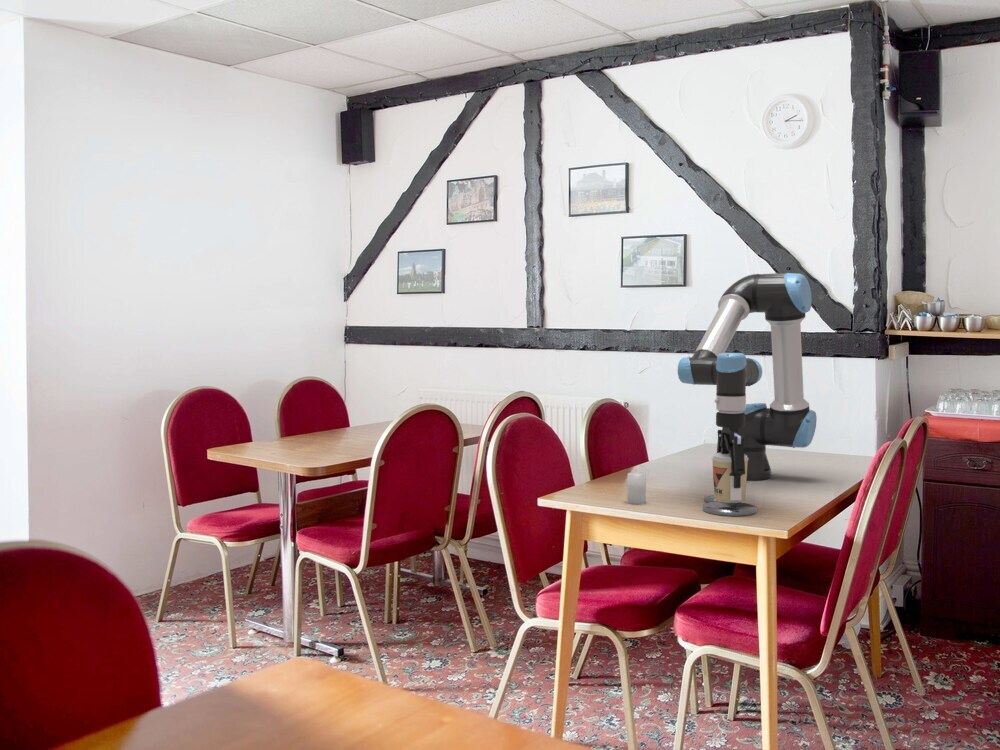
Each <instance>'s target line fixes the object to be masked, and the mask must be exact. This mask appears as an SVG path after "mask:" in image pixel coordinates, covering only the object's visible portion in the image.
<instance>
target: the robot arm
mask: <svg viewBox="0 0 1000 750" xmlns="http://www.w3.org/2000/svg"><path fill="white" fill-rule="evenodd" d="M812 300H813V298H812V290H811V287H810V282H809V281H808V279H807V277H806V276H805V275H804V274H801V273H795V272H794V273H791V272H782V273H779V272H778V273H777V272H775V273H754V274H749V275H747V276H743V277H742V278H740V279H738V280H736V281H735V282H733V284H731V285H730V286H729V287H728V288H727V289H726V290H725V291H724V292H723V293H722V295H721V296H720V298H719V300H718V303H717V311H716V312H715V314H714V317H713V318H712V320H711V322H710V324H709V326H708V327H707V330H706V331H705V333H704V335H703V337H702V338H701V341H700V342H699V344H698V346H697V348H696V349H695V351H694V353H693V355H692V357H690V356H687V357H686V356H685V357H682V358H681V359H679V361H678V364H677V376H678V380H679V381H680V382H681V383H682V384H688V385H689V384H690V385H693V386H696V385H698V386H699V385H705V386H715V387H716V391H715V392H716V394H715V395H716V399H714V403H715V404H716V411H717V412H716V413H715V425H716V427H719V428H721V429H717V443H716V446H717V447H716V453H721V454H729V456H730V458H731V460H732V462H731V470H732V473H730V474H729V475H730V500H741V482H742V475H743V474H745V461H744V454H745V455H747V458H748V463H747V478H746V481H761V480H768V479H771V478H772V469H771V465H770V462H769V459H768V456H767V453H766V450H767V449H766V448H767V447H766V446H772V447H773V446H774V447H775V446H776V447H783V448H784V447H787V448H793V449H795V448H801V449H802V448H803V449H804V448H807V447H808V446H810V444H811V443H812V442H813V439H814V436H815V433H816V428H817V419H818V418H817V413H816V411H815V410H812V409H810V403H809V401H807V400H806V399H805V398H804V397H805V396H804V395H805V394H804V378H803V377H804V374H803V356H802V355H803V354H802V353H803V350H802V332H801V330H802V329H801V328H802V327H801V323H802V322H803V320H804V319H806V313H809V312H810V311H811V308H812ZM753 313H763V314H764V319H765V321H766V322H767V323H769V325H770V334H771V335H770V336H771V338H770V339H771V354H772V370H773V371H772V374H773V391H774V392H773V393H774V394H773V395H774V399H773V401H772V402H771V403H770V404H769V407H768V406H767V403H766V402H765V403H764V402H758V403H757V402H755V403H747V400H746V399H747V396H746V394H747V393H746V390H747V389H746V388H747V387H751V386H753V385H755V384H757V383H758V382H759V381H760V380H761V378H762V376H763V367H762V365H761V363H760V362H759V361H758V360H757V359H754V358H750V357H747V356H746V355H745V353H741V352H726V351H727V349H728V347H729V345H730V343H731V341H732V340H733V338H734V336H735V333H736V332H737V330H738V328H739V326H740V325H741V322H742V321H743V320H745V319H746V318H747V317H748V316H749V314H753Z"/></svg>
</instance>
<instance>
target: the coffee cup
mask: <svg viewBox="0 0 1000 750" xmlns="http://www.w3.org/2000/svg"><path fill="white" fill-rule="evenodd" d="M711 460H712V475H713V476H712V479H713V493H714V494H713V495H715V500H716V501H719V502H726V503H738V502H741V503H744V501H745V499H746V498H745V497H746V489H747V488H746V487H747V480H746V478H747V463H748V458H747V455H745V454H744V461H745V474H743V475H742V482H741V500H730V475H729V474H730V473H732V470H731V462H732V460H731V458H730V456H729V454H721V453H717V452H716V453H713V454H712V457H711Z"/></svg>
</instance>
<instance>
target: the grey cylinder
mask: <svg viewBox="0 0 1000 750" xmlns="http://www.w3.org/2000/svg"><path fill="white" fill-rule="evenodd" d="M646 491H647V474H646V473H644V472H639V471H638V472H629V473H627V503H628V504H630V505H645V504H646V502H647V501H646V499H647V494H646V493H647V492H646Z"/></svg>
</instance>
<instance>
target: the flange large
mask: <svg viewBox="0 0 1000 750" xmlns="http://www.w3.org/2000/svg"><path fill="white" fill-rule="evenodd" d="M702 511H703V512H704V513H707V514H710V515H713V516H721V517H746V516H747V517H748V516H752V515H755V514H757V512H758V508H757V506H756V505H754V504H751V503H746V502H738V503H726V502H719V501H718V502H709V503H707V502H704V504H702Z"/></svg>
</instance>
